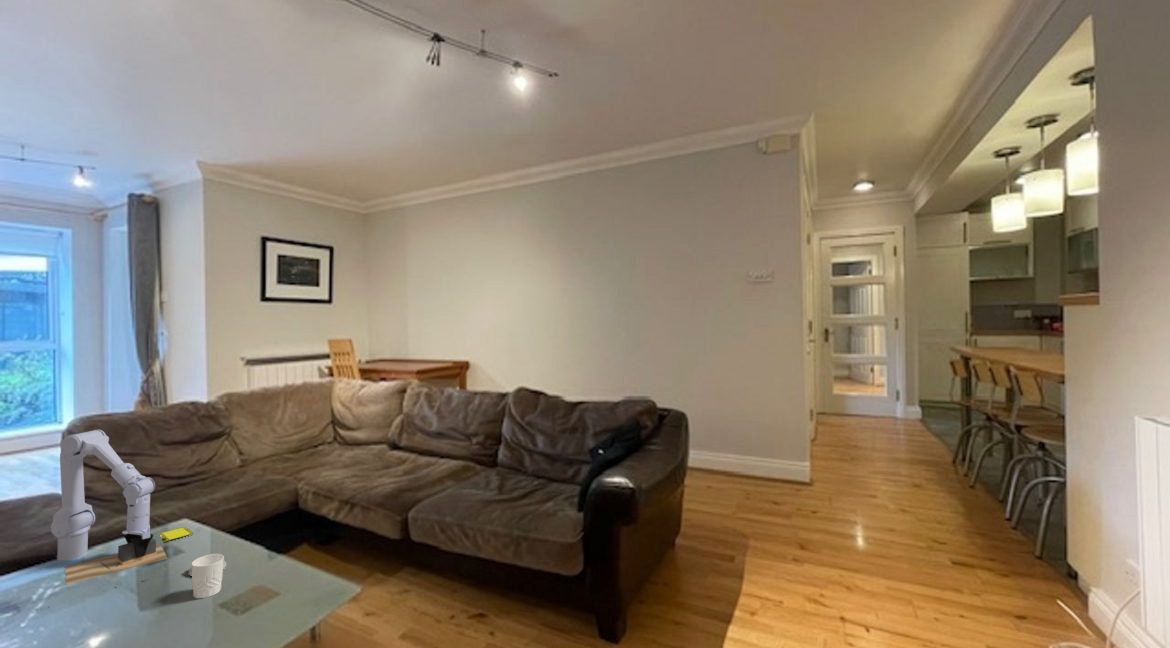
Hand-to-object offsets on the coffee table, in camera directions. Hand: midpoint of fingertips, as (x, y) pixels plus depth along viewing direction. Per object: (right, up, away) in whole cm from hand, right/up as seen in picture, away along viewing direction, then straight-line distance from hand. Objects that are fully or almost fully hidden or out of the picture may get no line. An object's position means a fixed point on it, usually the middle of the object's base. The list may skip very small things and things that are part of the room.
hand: (137, 554), depth 169 cm
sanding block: (0, -1, 0) cm, 1 cm away
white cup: (+38, -3, -19) cm, 43 cm away
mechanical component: (+28, -3, -5) cm, 29 cm away
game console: (-7, -3, +17) cm, 19 cm away
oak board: (-3, -2, -4) cm, 5 cm away
